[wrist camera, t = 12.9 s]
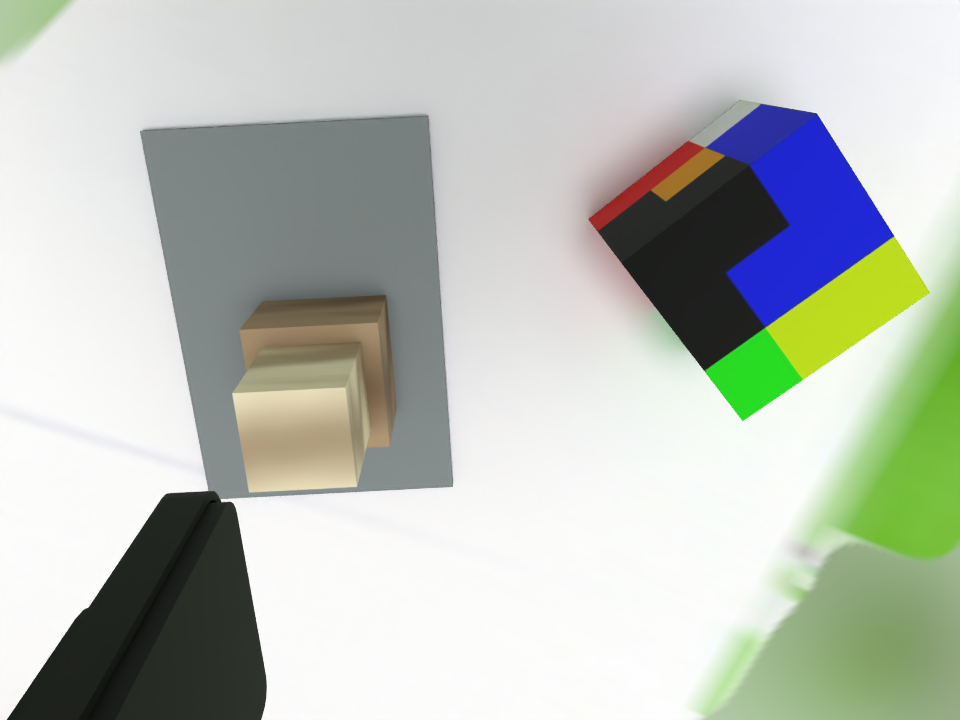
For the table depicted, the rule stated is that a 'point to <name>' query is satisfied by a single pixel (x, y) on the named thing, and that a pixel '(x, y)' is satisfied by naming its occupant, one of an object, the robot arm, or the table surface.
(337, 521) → the table surface
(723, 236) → the puzzle toy
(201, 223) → the mat
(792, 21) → the table surface
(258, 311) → the walnut block
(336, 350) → the maple block
